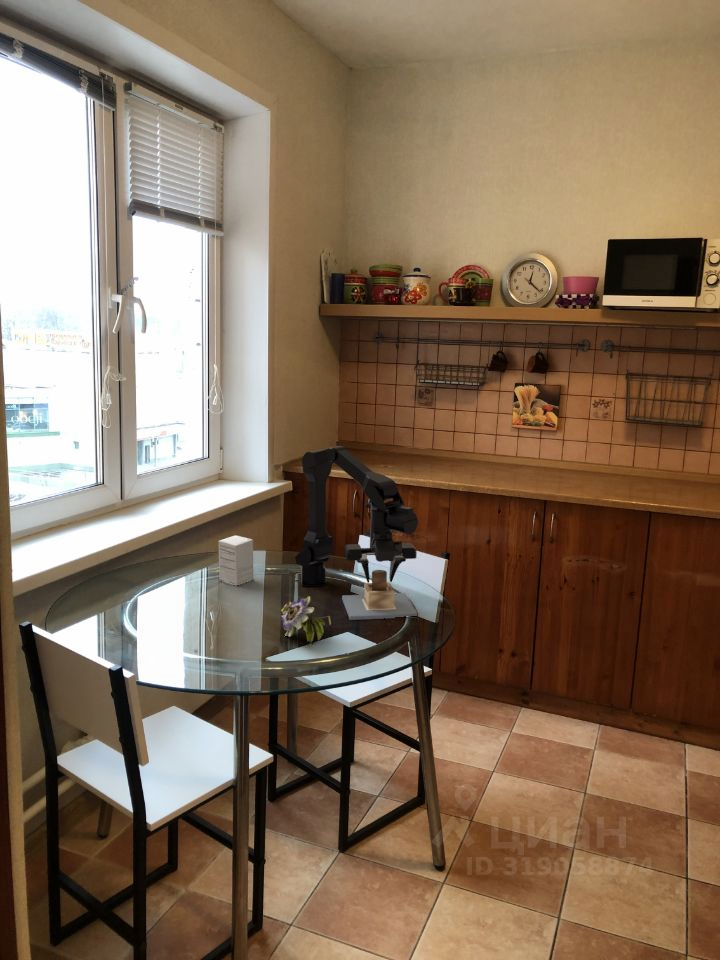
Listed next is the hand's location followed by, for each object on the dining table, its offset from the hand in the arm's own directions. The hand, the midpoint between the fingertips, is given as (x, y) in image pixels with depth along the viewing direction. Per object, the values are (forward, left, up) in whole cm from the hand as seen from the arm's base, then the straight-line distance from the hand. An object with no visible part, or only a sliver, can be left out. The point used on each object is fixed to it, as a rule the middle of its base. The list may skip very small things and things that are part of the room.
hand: (379, 581), depth 209 cm
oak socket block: (0, 0, -6) cm, 6 cm away
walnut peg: (0, 0, -2) cm, 2 cm away
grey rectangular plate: (0, 0, -7) cm, 7 cm away
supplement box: (-38, +25, -8) cm, 46 cm away
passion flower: (-22, -16, -8) cm, 28 cm away
